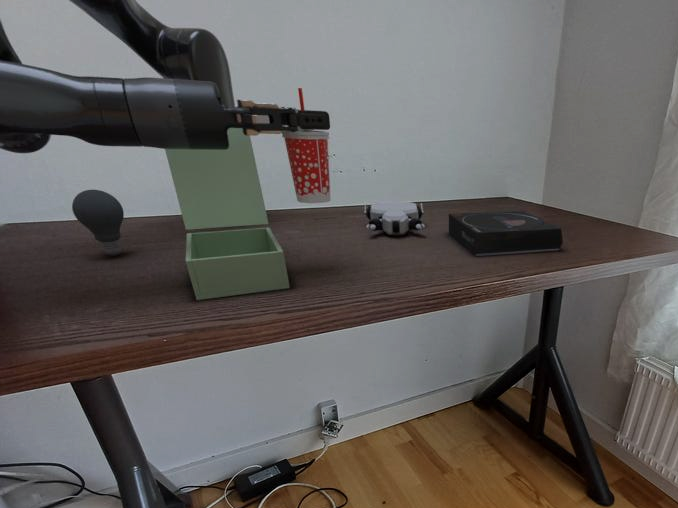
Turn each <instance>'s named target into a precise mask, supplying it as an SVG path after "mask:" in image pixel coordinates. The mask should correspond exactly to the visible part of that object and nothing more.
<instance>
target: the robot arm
mask: <svg viewBox="0 0 678 508" xmlns="http://www.w3.org/2000/svg"><path fill="white" fill-rule="evenodd" d="M68 1H69V2H70V3H72V4H73V5H75V6H76V7H77V8H78V9H80V10H81V11H82V12H83V13H85V14H86V15H87V16H89V17H90V18H91V19H92V20H94V21H95V22H96V23H98V24H99V25H100V26H102V27H103V28H104V29H106V30H107V31H108V32H110V33H111V34H112V35H114V36H115V37H116V38H118V39H119V40H120V41H121V42H122V43H124V45H126V46H127V47H128V48H129V49H130V50H132V51H133V52H134V53H135V55H137V56H138V57H139V58H140V59H141V60H143V61H144V62H145V63H146V64H147V65H148V66H149V67H150V68H151V69H152V70H153V71H155V72H156V73H157V74H158V75H159V76H161V77H135V78H134V77H133V78H131V77H130V78H127V77H126V78H122V77H109V76H106V77H105V76H93V75H92V76H90V75H88V76H87V75H86V76H84V75H81V76H80V75H72V74H67V73H63V72H59V71H55V70H52V69H49V68H43V67H38V66H33V65H28V64H24V63H23V62H22V61H21V59H20V58H19V55H18V53H17V52H16V50H15V49H14V47H13V46H12V43H11V41H10V39H9V37H8V35H7V33H6V30H5V28H4V25H3V22H2V18H0V150H3V151H7V152H10V153H15V154H32V153H35V152H38V151H40V150H42V149H43V148H45V147H46V146H47V145H48V143H49V142H50V140H51V137H52V136H63V137H72V138H75V139H78V140H81V141H83V142H85V143H88V144H90V145H94V146H99V147H122V148H123V147H124V148H125V147H126V148H127V147H130V148H131V147H132V148H134V147H136V148H138V147H139V148H142V147H144V148H153V149H154V148H155V149H161V150H165V149H198V150H226V149H228V148H229V139H228V134H227V130H228V129H229V128H242V130H243V134H244V135H250V136H252V137H253V136H254V137H255V136H259V134H261V135H263V134H264V135H265V134H266V135H270V134H271V135H282V131H291V132H295V131H298V130H301V129H311V130H314V131H328V130H330V128H331V120H330V114H329V112H327V111H325V110H312V109H311V110H307V109H305V110H301V109H298V108H296V107H289V106H287V107H285V106H280V107H279V105H278V104H276V103H270V102H269V103H268V102H267V103H265V102H254V101H253V100H251V99H236V103H237V106H236V103H235V96H234V90H233V89H234V88H233V83H232V76H231V71H230V65H229V59H228V57H227V54H226V51H225V49H224V47H223V44H222V43H221V41H220V40H219V39H218V37H216V35H215V34H214V33H213V32H211V31H210V30H207V29H204V28H199V27H170V26H168V25H166V24H164V23H162V22H161V21H160V20H158V19H157V18H156V17H154V16H153V15H152V14H151V13H150V12H148V10H147V9H145V8H144V7H143V6H142V5H140V3H139V2H138V1H137V0H68Z"/></svg>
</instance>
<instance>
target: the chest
mask: <svg viewBox="0 0 678 508" xmlns="http://www.w3.org/2000/svg"><path fill="white" fill-rule="evenodd" d="M273 233H274V232H272V230H271V228H270V227H269V226H267V227H251V228H240V229H238V228H237V229H225V230H224V229H223V230H210V231H198V232H187V233H186V242H185V243H186V245H185V246H186V247H185V264H186V268H187V272H188V275H189V278H190V282H191V285H192V290H193V293H194V295H195V300H196V301H203V300H208V299H216V298H224V297H231V296H232V297H233V296H239V295H247V294H255V293H262V292H271V291H279V290H285V289H290V288H291V287H290V281H289V275H288V270H287V264H286V258H285V254H284V250H283V249H282V247H281V245H280V243H279V242H278V240H277V238H276V236H275V235H274V234H273Z"/></svg>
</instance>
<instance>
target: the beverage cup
mask: <svg viewBox="0 0 678 508" xmlns="http://www.w3.org/2000/svg"><path fill="white" fill-rule="evenodd" d="M297 91H298V98H299V107H300V110H306V109H305V102H304V94H303V88H302V87H298V88H297ZM281 135H282V138H284V144H285V148H286V152H287V158H288V161H289V163H288V164H289V166H290V172H291V177H292V181H293V182H292V183H293V186H294V192H295V196H296V202H299V203H301V204H324V203H329V202H331V199H332V197H331V180H330V161H329V159H330V158H329V157H330V156H329V142H328V141H329V140H330V136H329V135H330V131H327V130H311V129H301V130H298V131H295V132H291V131H282V133H281Z"/></svg>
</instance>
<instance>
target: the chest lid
mask: <svg viewBox="0 0 678 508" xmlns="http://www.w3.org/2000/svg"><path fill="white" fill-rule="evenodd" d="M227 134H228V139H229V148H228V149H226V150H198V149H164V151H165V155H166V158H167V163H168V166H169V169H170V174H171V178H172V182H173V186H174V189H175V190H174V191H175V193H176V198H177V201H178V205H179V209H180V212H181V217H182V221H183V225H184V228H185V231H192V230H193V231H194V230H206V229H220V228H221V229H222V228H236V227H249V226H250V227H251V226H263V225H269V219H268V215H267V210H266V205H265V200H264V196H263V191H262V187H261V186H262V185H261V181H260V176H259V171H258V166H257V162H256V157H255V153H254V147H253V143H252V138H251V135H244V134H243V130H242V128H229V129H228V130H227Z"/></svg>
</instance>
